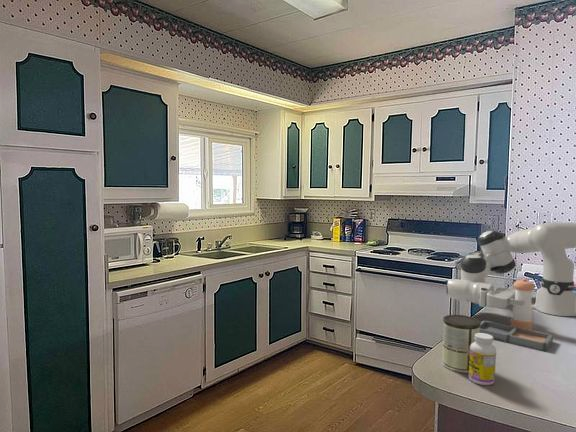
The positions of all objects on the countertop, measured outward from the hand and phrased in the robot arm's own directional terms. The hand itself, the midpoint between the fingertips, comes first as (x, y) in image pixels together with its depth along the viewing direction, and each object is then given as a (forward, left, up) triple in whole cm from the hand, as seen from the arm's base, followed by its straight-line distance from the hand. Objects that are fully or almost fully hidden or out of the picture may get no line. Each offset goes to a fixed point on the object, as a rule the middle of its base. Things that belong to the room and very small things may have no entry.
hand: (525, 301), depth 162 cm
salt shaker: (0, -1, -11) cm, 11 cm away
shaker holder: (+14, -1, -11) cm, 18 cm away
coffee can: (+51, -7, -11) cm, 53 cm away
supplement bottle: (+57, +1, -11) cm, 58 cm away
